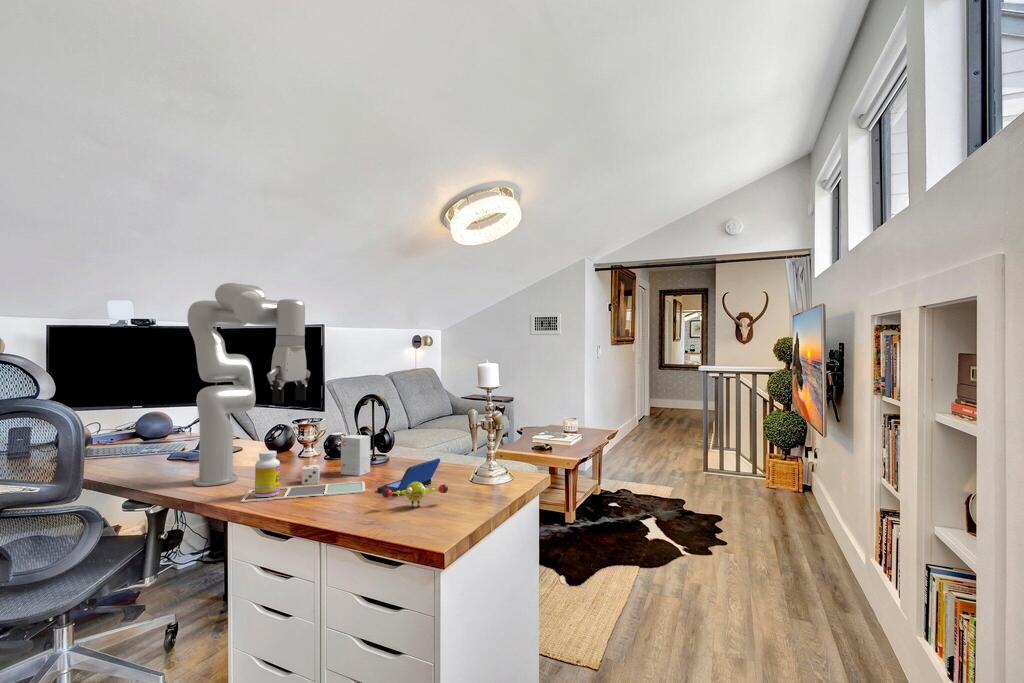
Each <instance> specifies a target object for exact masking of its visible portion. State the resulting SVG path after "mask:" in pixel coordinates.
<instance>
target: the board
mask: <svg viewBox="0 0 1024 683" xmlns="http://www.w3.org/2000/svg"><path fill="white" fill-rule="evenodd" d="M291 488H292V489H291ZM280 489H286V492H284V493H285V494H284V495H283V496H278V497H276V496H275V497H268V498H254V499H253V498H252V499H248V498H249V497H250V495H251V494H252V493H253V492H252V491H255V489H249V490H248V491H247V492H246V494H245V495H244V496H243V497H242V498H241V500H240V503H241V502H244V501H257V500H269V499H281V500H283V499H282V498H294V499H297V498H296V497H306V498H310V497H309V496H318V497H325V496H324V495H330V496H340V495H339V494H342V495H351V493H354V494H364V493H363V492H365V493H366V484H365V481H353V482H349V481H348V482H339V483H338V482H336V483H325V484H308V485H298V486H297V485H295V486H286V487H280ZM324 489H325V490H324ZM251 492H252V493H251ZM250 493H251V494H250ZM323 493H324V494H323ZM249 494H250V495H249ZM287 495H288V496H287ZM247 497H248V498H247ZM246 498H247V499H246ZM245 499H246V500H245ZM269 501H270V500H269ZM257 502H258V501H257Z"/></svg>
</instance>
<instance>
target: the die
mask: <svg viewBox="0 0 1024 683" xmlns="http://www.w3.org/2000/svg"><path fill="white" fill-rule="evenodd" d="M320 467H321V466H320V464H315V465H314V464H313V465H303V466H302V468H301V485H302V484H304V485H314V484H313V483H317V484H319V482H320V478H321V477H320V476H321V475H320V474H321V472H320V470H321V468H320Z"/></svg>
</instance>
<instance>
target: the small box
mask: <svg viewBox="0 0 1024 683" xmlns="http://www.w3.org/2000/svg"><path fill="white" fill-rule="evenodd" d="M368 473H371V435H362V434H350V435H345V436H342V437H341V436H340V475H346V476H347V475H348V476H358V477H360V476H363V475H366V474H368Z"/></svg>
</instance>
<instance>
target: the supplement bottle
mask: <svg viewBox="0 0 1024 683" xmlns="http://www.w3.org/2000/svg"><path fill="white" fill-rule="evenodd" d="M258 457H259V460H258V461H256V463H255V465H254V490H255V492H254V497H256V498H258V497H268V498H272V497H271V496H273V497H276V496H278V495H279V494H280V491H281V490H280V488H281V487H280V486H281V485H280V481H281V477H280V476H281V475H280V474H281V473H280V472H281V471H280V470H281V465H280V464H281V463H280V462H281V461H280V460H279V459H277V458H276V457H277V450H264V451H259V452H258ZM275 495H276V496H275Z"/></svg>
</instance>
